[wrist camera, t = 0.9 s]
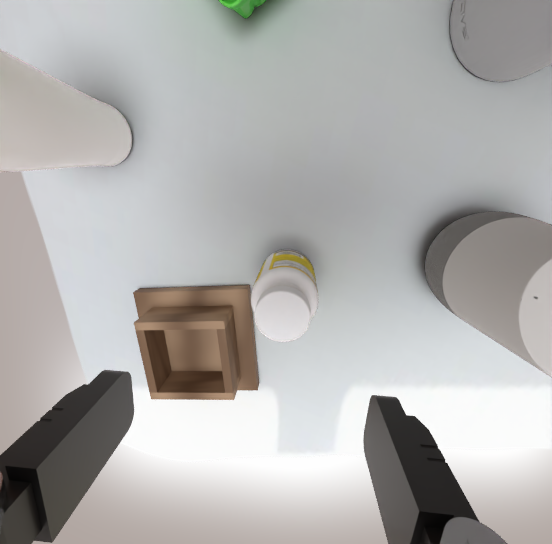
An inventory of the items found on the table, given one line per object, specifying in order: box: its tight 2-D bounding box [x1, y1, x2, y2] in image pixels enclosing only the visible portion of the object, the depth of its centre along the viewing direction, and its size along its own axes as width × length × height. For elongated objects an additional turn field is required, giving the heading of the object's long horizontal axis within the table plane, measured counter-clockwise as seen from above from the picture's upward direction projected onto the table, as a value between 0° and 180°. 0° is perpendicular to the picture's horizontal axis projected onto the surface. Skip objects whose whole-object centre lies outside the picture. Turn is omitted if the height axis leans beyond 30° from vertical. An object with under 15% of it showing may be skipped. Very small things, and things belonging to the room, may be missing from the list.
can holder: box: [133, 285, 259, 400], centre depth 31 cm, size 12×12×5 cm
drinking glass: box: [0, 49, 132, 172], centre depth 20 cm, size 7×7×15 cm
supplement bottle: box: [251, 249, 318, 342], centre depth 25 cm, size 5×5×10 cm
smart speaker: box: [425, 212, 552, 377], centre depth 21 cm, size 10×9×14 cm
